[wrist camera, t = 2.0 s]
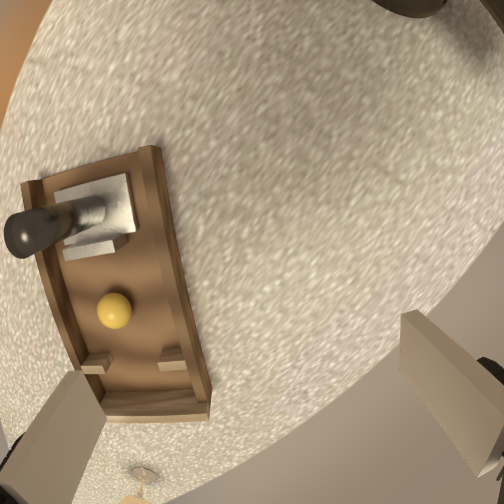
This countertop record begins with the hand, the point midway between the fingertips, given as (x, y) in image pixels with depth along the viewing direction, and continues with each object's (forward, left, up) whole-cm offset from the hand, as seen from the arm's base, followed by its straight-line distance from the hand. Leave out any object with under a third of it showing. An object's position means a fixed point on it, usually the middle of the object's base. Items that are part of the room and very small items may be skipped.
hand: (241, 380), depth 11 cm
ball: (+5, -15, -22) cm, 27 cm away
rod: (-6, -15, -22) cm, 27 cm away
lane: (+4, -15, -24) cm, 28 cm away
